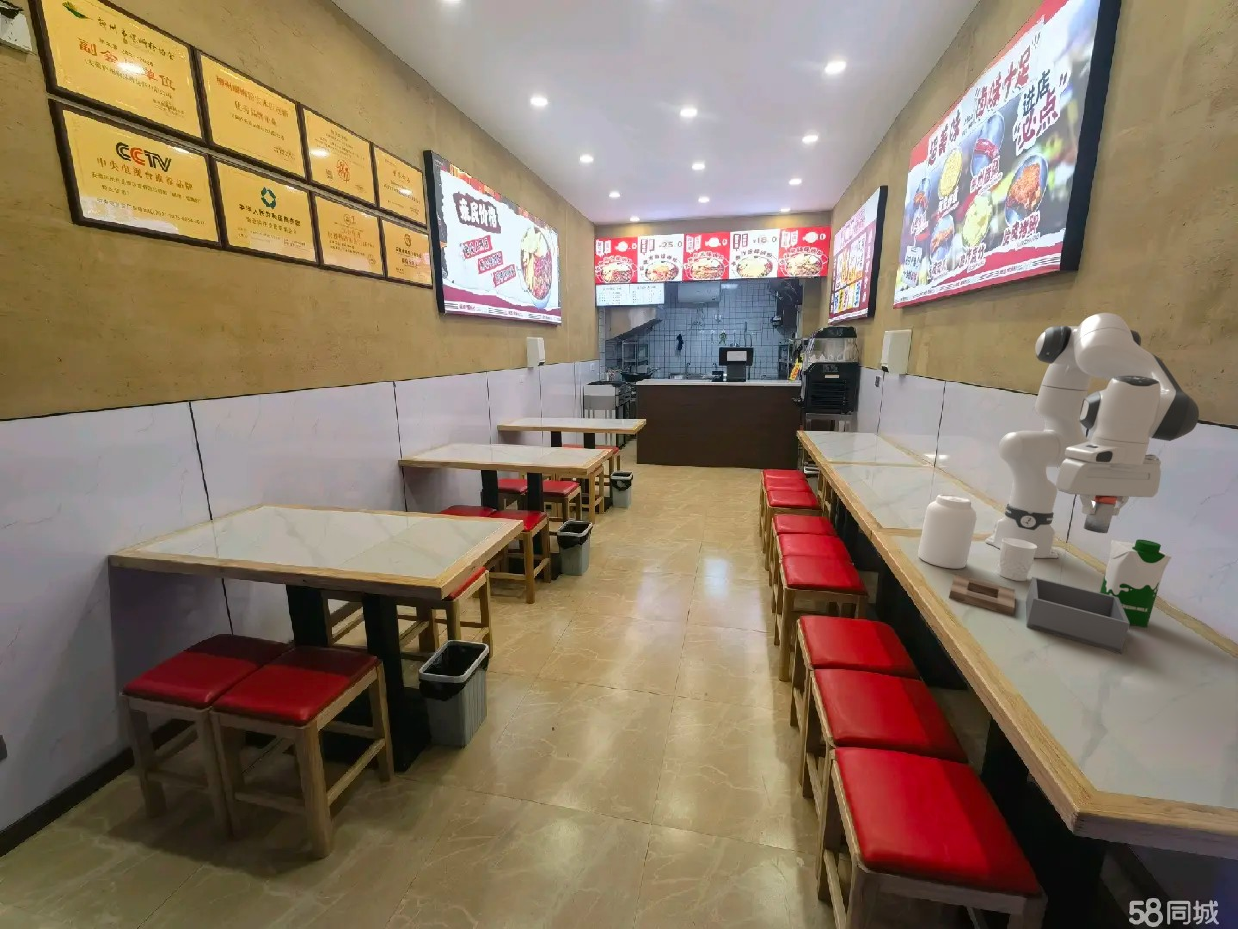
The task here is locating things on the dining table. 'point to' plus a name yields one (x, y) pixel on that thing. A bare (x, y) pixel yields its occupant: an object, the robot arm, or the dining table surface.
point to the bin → (1076, 614)
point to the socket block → (1000, 604)
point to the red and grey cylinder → (1101, 514)
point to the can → (947, 532)
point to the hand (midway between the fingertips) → (1099, 514)
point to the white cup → (1015, 558)
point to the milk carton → (1135, 577)
